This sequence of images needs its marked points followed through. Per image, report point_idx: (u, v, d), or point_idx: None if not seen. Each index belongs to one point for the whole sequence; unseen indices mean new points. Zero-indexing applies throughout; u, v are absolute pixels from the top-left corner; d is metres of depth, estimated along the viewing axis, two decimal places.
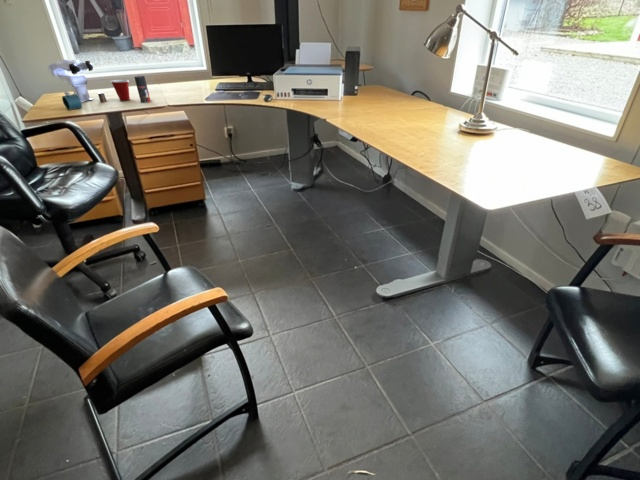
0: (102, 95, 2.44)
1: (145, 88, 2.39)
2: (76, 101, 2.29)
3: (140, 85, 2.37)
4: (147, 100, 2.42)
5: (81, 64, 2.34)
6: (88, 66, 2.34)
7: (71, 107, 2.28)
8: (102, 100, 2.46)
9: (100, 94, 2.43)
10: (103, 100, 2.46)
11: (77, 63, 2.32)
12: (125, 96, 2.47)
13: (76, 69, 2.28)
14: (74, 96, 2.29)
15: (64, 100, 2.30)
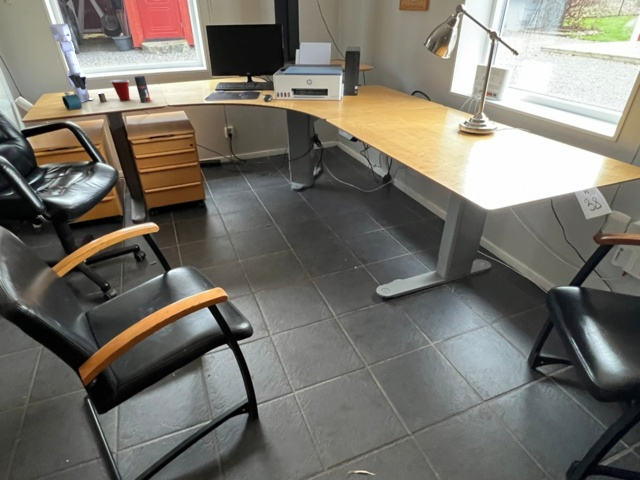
0: (102, 95, 2.44)
1: (145, 88, 2.39)
2: (76, 101, 2.29)
3: (140, 85, 2.37)
4: (147, 100, 2.42)
5: None
6: None
7: (71, 107, 2.28)
8: (102, 100, 2.46)
9: (100, 94, 2.43)
10: (103, 100, 2.46)
11: None
12: (125, 96, 2.47)
13: None
14: (74, 96, 2.29)
15: (64, 100, 2.30)
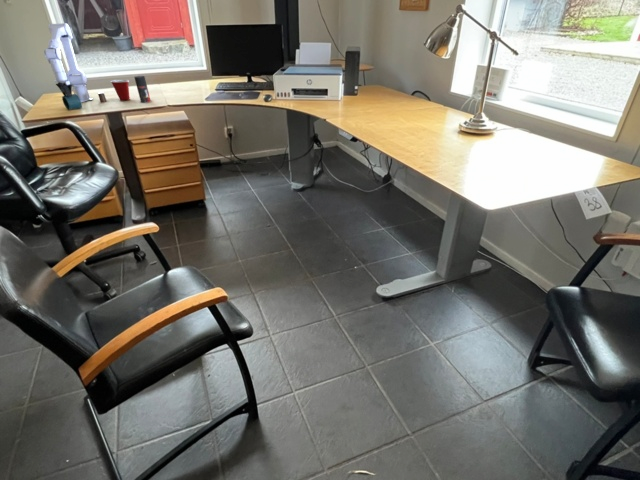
0: (102, 95, 2.44)
1: (145, 88, 2.39)
2: (76, 101, 2.29)
3: (140, 85, 2.37)
4: (147, 100, 2.42)
5: None
6: None
7: (71, 107, 2.28)
8: (102, 100, 2.46)
9: (100, 94, 2.43)
10: (103, 100, 2.46)
11: (58, 81, 2.22)
12: (125, 96, 2.47)
13: None
14: (74, 96, 2.29)
15: (64, 100, 2.30)
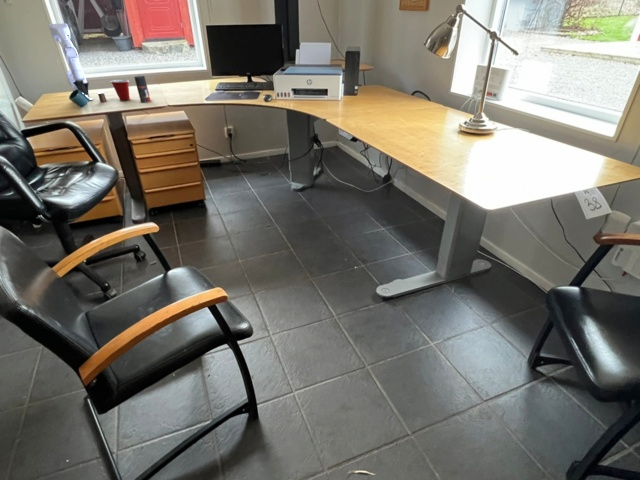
0: (102, 95, 2.44)
1: (145, 88, 2.39)
2: (84, 99, 2.32)
3: (140, 85, 2.37)
4: (147, 100, 2.42)
5: None
6: None
7: (75, 99, 2.29)
8: (102, 100, 2.46)
9: (100, 94, 2.43)
10: (103, 100, 2.46)
11: None
12: (125, 96, 2.47)
13: None
14: (86, 96, 2.33)
15: (73, 93, 2.33)
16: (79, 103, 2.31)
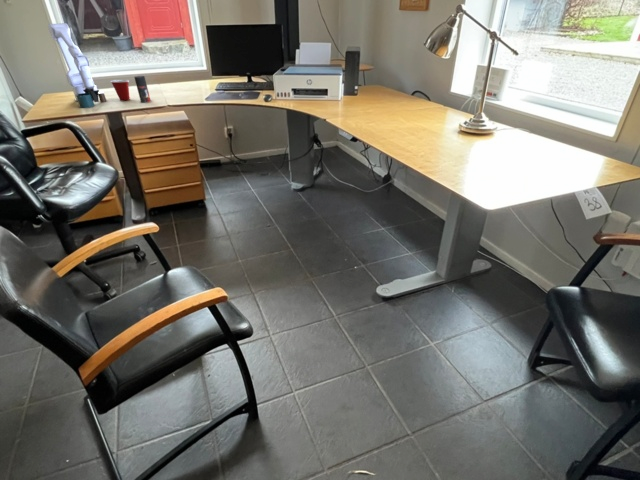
0: (102, 95, 2.44)
1: (145, 88, 2.39)
2: (89, 103, 2.35)
3: (140, 85, 2.37)
4: (147, 100, 2.42)
5: None
6: None
7: (82, 97, 2.31)
8: (102, 100, 2.46)
9: (100, 94, 2.43)
10: (103, 100, 2.46)
11: None
12: (125, 96, 2.47)
13: None
14: None
15: (82, 94, 2.37)
16: (82, 103, 2.33)
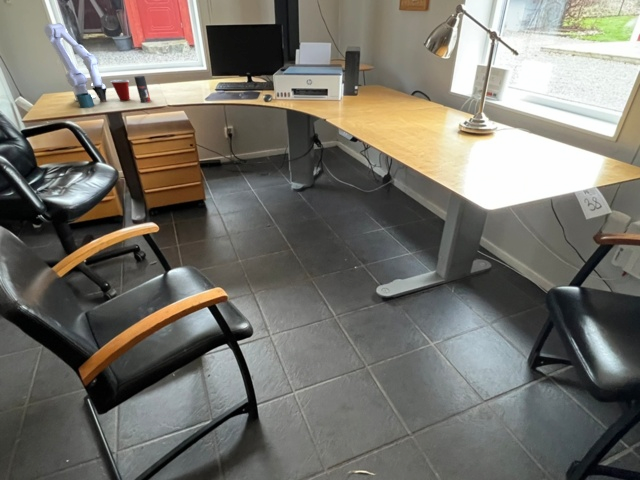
0: None
1: (145, 88, 2.39)
2: (89, 103, 2.35)
3: (140, 85, 2.37)
4: (147, 100, 2.42)
5: None
6: None
7: (82, 97, 2.31)
8: (102, 100, 2.46)
9: None
10: (103, 100, 2.46)
11: None
12: (125, 96, 2.47)
13: None
14: None
15: (82, 94, 2.37)
16: (82, 103, 2.33)
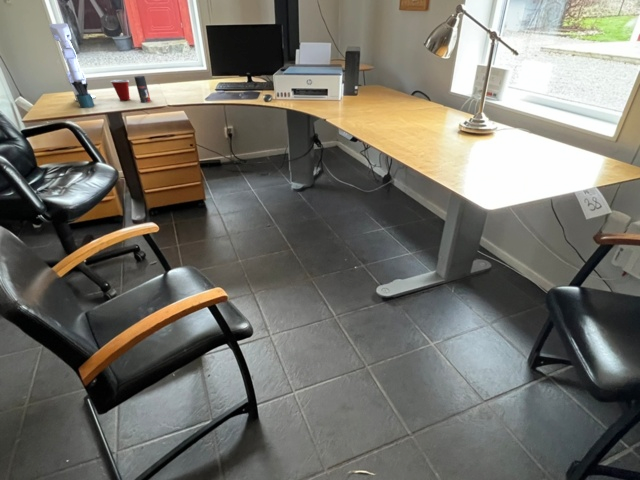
0: None
1: (145, 88, 2.39)
2: (89, 103, 2.35)
3: (140, 85, 2.37)
4: (147, 100, 2.42)
5: None
6: None
7: (82, 97, 2.31)
8: None
9: None
10: None
11: None
12: (125, 96, 2.47)
13: None
14: None
15: (82, 94, 2.37)
16: (82, 103, 2.33)
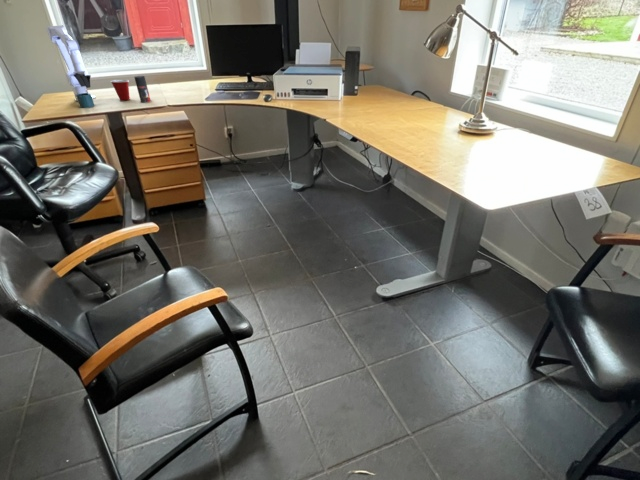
0: None
1: (145, 88, 2.39)
2: (89, 103, 2.35)
3: (140, 85, 2.37)
4: (147, 100, 2.42)
5: None
6: None
7: (82, 97, 2.31)
8: None
9: None
10: None
11: (76, 72, 2.30)
12: (125, 96, 2.47)
13: None
14: None
15: (82, 94, 2.37)
16: (82, 103, 2.33)
